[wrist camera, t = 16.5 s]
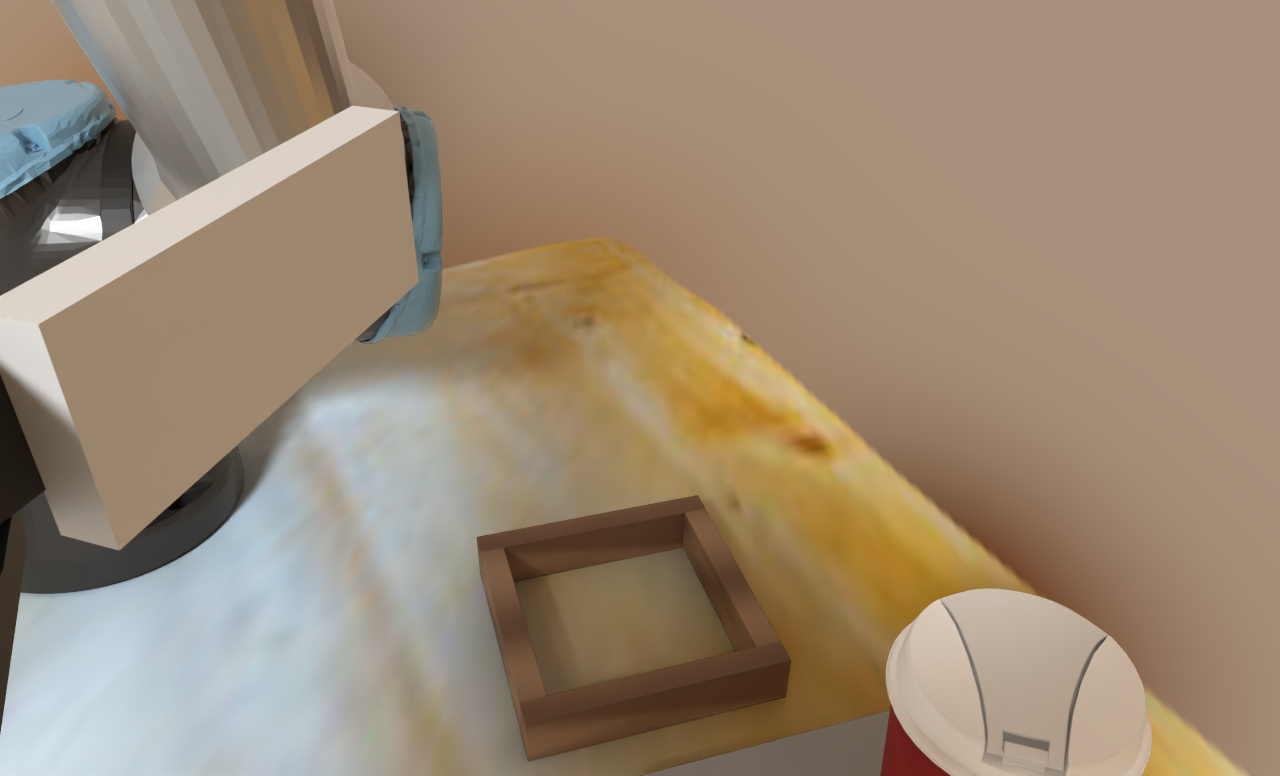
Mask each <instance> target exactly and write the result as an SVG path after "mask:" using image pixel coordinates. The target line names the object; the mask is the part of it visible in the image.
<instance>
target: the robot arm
mask: <svg viewBox="0 0 1280 776" xmlns="http://www.w3.org/2000/svg"><path fill="white" fill-rule="evenodd" d="M50 1H51V3H52V4H53V5H54V7H55V9H56V10H57V12H58V13H59V15H60V16H61V18H62V19H63V21H64V22H65V24H66V25H67V27H68V28H69V30H70V31H71V33H72V34H73V36H74V37H75V39H76V41H77V42H78V44H79V45H80V47H81V48H82V50H83V51H84V53H85V54H86V56H87V57H88V59H89V60H90V62H91V63H92V65H93V66H94V68H95V69H96V71H97V72H98V74H99V75H100V77H101V78H102V80H103V82H104V83H105V84H106V86H107V88H108V89H109V91H110V92H111V94H112V95H113V97H114V98H115V100H116V101H117V103H118V104H119V106H120V107H121V109H122V110H123V112H124V113H125V115H126V116H127V118H128V119H129V120H120V119H118V118H116V117H115V116H116V107H115V103H114V102H112V101H111V100H110V99H109V97H108V96H107V94H106V93H105V91H104V90H103V89H102V88H100V87H99V86H97V85H95V84H92V83H90V82H80V83H77V82H76V81H74V80H48V81H38V82H30V83H23V84H16V85H10V86H5V87H0V732H1V725H2V718H3V711H4V704H5V697H6V690H7V683H8V676H9V669H10V662H11V655H12V648H13V640H14V633H15V626H16V619H17V612H18V605H19V598H20V592H23V593H37V594H53V593H66V592H75V591H82V590H88V589H93V588H98V587H102V586H106V585H110V584H114V583H117V582H120V581H124V580H127V579H130V578H133V577H135V576H138V575H141V574H143V573H146V572H148V571H150V570H153V569H155V568H157V567H159V566H161V565H163V564H165V563H168V562H169V561H171V560H173V559H175V558H177V557H178V556H180V555H182V554H183V553H185V552H187V551H188V550H190V549H191V548H193V547H194V546H196V545H197V544H198V543H200V542H201V541H202V540H204V539H205V538H206V537H207V536H209V535H210V534H211V533H212V532H213V531H214V530H215V529H216V528H217V527H218V526H219V525H220V524H221V523H222V522H223V521H224V520H225V519H226V517H227V516H228V515H229V514H230V512H231V511H232V509H233V508H234V506H235V504H236V503H237V501H238V499H239V496H240V494H241V491H242V487H243V481H244V472H243V466H242V462H241V459H240V455H239V451H238V447H237V445H238V444H239V443H240V442H241V441H242V440H243V439H244V438H246V437H247V436H248V435H249V434H250V433H251V432H252V431H253V430H254V429H256V428H257V427H258V426H259V425H260V424H261V423H262V422H263V421H265V420H266V419H267V418H268V417H269V416H270V415H271V414H272V413H273V412H275V411H276V410H277V409H278V408H279V407H280V406H281V405H282V404H284V403H285V402H286V401H287V400H288V399H289V398H290V397H291V396H292V395H294V394H295V393H296V392H297V391H298V390H299V389H300V388H301V387H302V386H304V385H305V384H306V383H307V382H308V381H309V380H310V379H311V378H313V377H314V376H315V375H316V374H317V373H318V372H319V371H320V370H321V369H323V368H324V367H325V366H326V365H327V364H328V363H329V362H330V361H331V360H333V359H334V358H335V357H336V356H337V355H338V354H339V353H340V352H342V351H343V350H344V349H345V348H346V347H347V346H348V345H349V344H350V343H352V342H353V341H360V342H362V343H365V344H366V343H374V342H379V341H381V340H383V339H384V338H389V337H399V336H408V335H414V334H418V333H420V332H422V331H424V330H426V329H427V328H428V327H429V326H430V325H431V324H432V323H433V321H434V320H435V318H436V316H437V313H438V309H439V304H440V296H441V282H442V261H441V255H440V251H441V249H442V243H441V242H442V196H441V176H440V163H439V150H438V142H437V135H436V131H435V128H434V125H433V123H432V121H431V119H430V118H429V117H428V116H427V115H426V114H425V113H423V112H421V111H417V110H407V109H406V108H404V107H400V106H393V105H392V104H391V102H390V100H389V99H388V97H387V96H386V94H385V93H384V92H383V90H382V89H381V88H380V87H379V86H378V85H377V83H376V82H375V81H374V80H373V79H372V78H370V77H369V76H368V75H367V74H366V73H365V72H364V71H363V70H361V69H360V68H358V67H357V66H356V65H354V64H353V63H351V62H350V61H348V58H347V53H346V50H345V46H344V42H343V38H342V34H341V31H340V26H339V23H338V19H337V15H336V11H335V7H334V3H333V0H50Z"/></svg>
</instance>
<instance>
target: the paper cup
mask: <svg viewBox="0 0 1280 776" xmlns="http://www.w3.org/2000/svg"><path fill="white" fill-rule="evenodd" d="M1106 637H1107V633H1105V632H1104V631H1102V630H1101V629H1100V628H1098V627H1097V626H1095V625H1094V624H1092V623H1091V622H1090V621H1088V620H1086V619H1085V618H1083V617H1082V616H1080V615H1079V614H1077V613H1076V612H1074V611H1072V610H1070V609H1068V608H1066V607H1064V606H1062V605H1060V604H1058V603H1056V602H1054V601H1051V600H1048V599H1045V598H1042V597H1040V596H1036V595H1031V594H1027V593H1023V592H1018V591H1012V590H1005V589H992V588H985V589H973V590H969V591H964V592H960V593H956V594H953V595H950V596H946V597H943V598H941V600H940V599H938V600H936V601H934V602H933V603H931V604H930V605H929V606H928V607H926V608H925V609H924V610H923V611H922V612H921V613H920V614H919V615H918V617H917V618H916V619H915V620H914V621H913V622H911V623H910V624H909V625H908V626H907V627H905V628H904V629H903V631H902V632H901V633H900V634H899V636H898V637H897V638H896V639H895V641H894V643H893V645H892V647H891V650H890V652H889V656H888V660H887V664H886V686H887V691H888V696H889V700H890V702H891V706H890V713H889V720H888V726H887V733H886V740H885V747H884V753H883V760H882V767H881V774H880V776H1141V775H1142V773H1143V771H1144V769H1145V767H1146V764H1147V762H1148V760H1149V757H1150V751H1151V745H1152V736H1151V725H1150V721H1149V717H1148V713H1147V704H1146V696H1145V692H1144V688H1143V684H1142V682H1141V679H1140V677H1139V675H1138V673H1137V671H1136V668H1135V666H1134V665H1133V663H1132V662H1131V660H1130V659H1129V657H1128V656H1127V654H1126V653H1125V652H1124V651H1123V649H1121V647H1120V646H1119V645H1118V644H1117V643H1116V642H1115V640H1114V639H1113V638H1111V637H1110V636H1108V637H1107V638H1106Z"/></svg>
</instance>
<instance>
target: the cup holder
mask: <svg viewBox="0 0 1280 776" xmlns="http://www.w3.org/2000/svg"><path fill="white" fill-rule="evenodd" d="M477 545H478V555H479V565H480V574H481V577H482V581H483V585H484V589H485V593H486V597H487V601H488V605H489V609H490V613H491V617H492V621H493V625H494V629H495V633H496V637H497V641H498V645H499V648H500V652H501V656H502V660H503V664H504V668H505V672H506V676H507V680H508V684H509V688H510V692H511V696H512V700H513V704H514V708H515V712H516V716H517V720H518V723H519V727H520V731H521V735H522V739H523V743H524V747H525V751H526V755H527V759H528V761H531V760H535V759H539V758H543V757H547V756H551V755H555V754H559V753H563V752H567V751H571V750H575V749H579V748H583V747H587V746H591V745H595V744H599V743H603V742H607V741H611V740H615V739H619V738H623V737H627V736H631V735H635V734H639V733H643V732H647V731H651V730H655V729H659V728H663V727H667V726H671V725H675V724H678V723H682V722H686V721H690V720H694V719H698V718H702V717H706V716H710V715H714V714H718V713H722V712H726V711H730V710H734V709H738V708H742V707H746V706H750V705H754V704H758V703H762V702H766V701H770V700H774V699H778V698H782V697H786V691H787V684H788V677H789V670H790V663H791V659H790V658H789V656H788V654H787V652H786V651H785V649H784V647H783V645H782V644H781V642H780V640H779V638H778V636H777V635H776V633H775V631H774V629H773V628H772V626H771V624H770V622H769V621H768V619H767V617H766V615H765V613H764V612H763V610H762V608H761V606H760V605H759V603H758V601H757V599H756V597H755V596H754V594H753V592H752V590H751V589H750V587H749V585H748V583H747V582H746V580H745V578H744V576H743V574H742V573H741V571H740V569H739V567H738V566H737V564H736V562H735V560H734V558H733V557H732V555H731V553H730V551H729V550H728V548H727V546H726V544H725V543H724V541H723V539H722V537H721V535H720V534H719V532H718V530H717V528H716V527H715V525H714V523H713V521H712V520H711V518H710V516H709V514H708V512H707V511H706V509H705V507H704V505H703V504H702V502H701V500H700V498H699V496H698V495H697V496H692V497H686V498H681V499H676V500H671V501H665V502H660V503H655V504H649V505H644V506H639V507H634V508H628V509H623V510H618V511H612V512H607V513H602V514H596V515H591V516H586V517H581V518H575V519H570V520H565V521H559V522H554V523H549V524H544V525H538V526H533V527H528V528H522V529H517V530H512V531H507V532H501V533H496V534H491V535H485V536H480V537H477ZM680 547H683V548H684V550H685V552H686V554H687V556H688V558H689V560H690V562H691V564H692V566H693V568H694V570H695V572H696V574H697V575H698V577H699V579H700V581H701V583H702V585H703V587H704V589H705V591H706V593H707V595H708V597H709V599H710V601H711V603H712V605H713V607H714V609H715V611H716V613H717V615H718V617H719V619H720V621H721V623H722V624H723V626H724V628H725V630H726V632H727V634H728V636H729V638H730V640H731V642H732V644H733V646H734V648H735V650H736V652H732V653H728V654H724V655H720V656H715V657H711V658H707V659H702V660H698V661H694V662H690V663H685V664H681V665H677V666H673V667H668V668H664V669H660V670H656V671H651V672H647V673H643V674H639V675H634V676H630V677H626V678H622V679H617V680H613V681H609V682H605V683H600V684H596V685H592V686H588V687H583V688H579V689H575V690H571V691H566V692H562V693H558V694H554V695H549V696H546V692H545V689H544V685H543V682H542V678H541V675H540V671H539V668H538V665H537V661H536V658H535V654H534V651H533V647H532V644H531V640H530V637H529V633H528V630H527V627H526V623H525V620H524V616H523V613H522V609H521V606H520V602H519V599H518V596H517V592H516V589H515V585H514V582H513V581H518V580H523V579H527V578H532V577H537V576H542V575H547V574H552V573H557V572H562V571H567V570H572V569H577V568H582V567H587V566H592V565H597V564H602V563H606V562H611V561H616V560H621V559H626V558H631V557H636V556H641V555H646V554H651V553H656V552H661V551H666V550H671V549H676V548H680Z"/></svg>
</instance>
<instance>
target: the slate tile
mask: <svg viewBox="0 0 1280 776" xmlns="http://www.w3.org/2000/svg"><path fill="white" fill-rule="evenodd" d="M889 713H890V710H889V711H885V712H881V713H877V714H874V715H870V716H866V717H862V718H858V719H855V720H851V721H847V722H843V723H839V724H835V725H832V726H828V727H824V728H820V729H816V730H813V731H809V732H805V733H801V734H797V735H794V736H790V737H786V738H782V739H778V740H775V741H771V742H767V743H763V744H759V745H756V746H752V747H748V748H744V749H740V750H737V751H733V752H729V753H725V754H721V755H717V756H714V757H710V758H706V759H702V760H698V761H695V762H691V763H687V764H683V765H679V766H676V767H672V768H668V769H664V770H660V771H657V772H653V773H649V774H645V775H641V776H880V774H881V767H882V760H883V753H884V747H885V740H886V733H887V726H888V720H889Z"/></svg>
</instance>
